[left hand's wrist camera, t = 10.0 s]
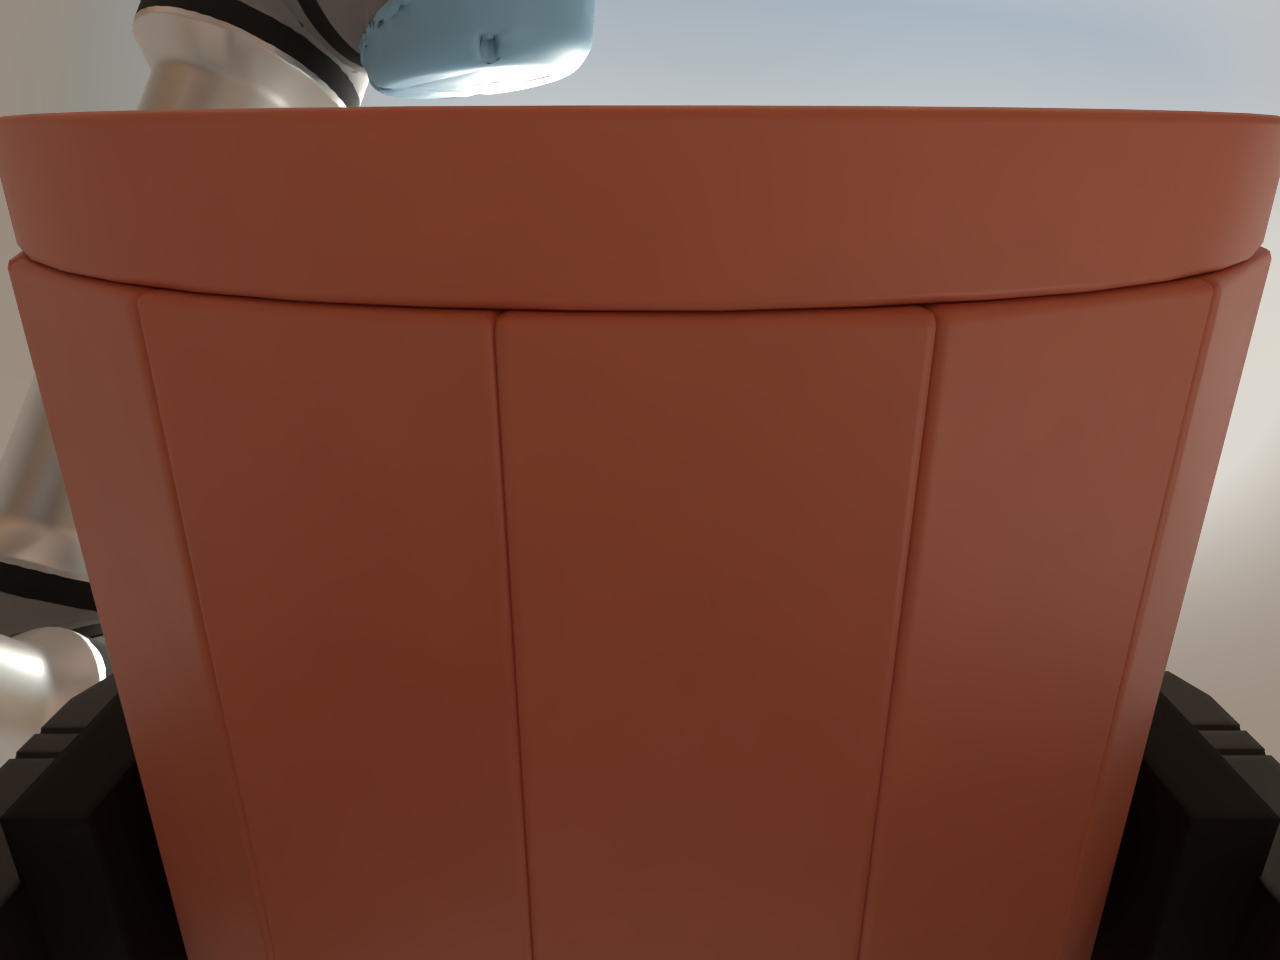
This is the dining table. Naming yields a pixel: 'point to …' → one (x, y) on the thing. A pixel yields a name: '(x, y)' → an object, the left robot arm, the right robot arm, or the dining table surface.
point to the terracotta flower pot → (639, 508)
